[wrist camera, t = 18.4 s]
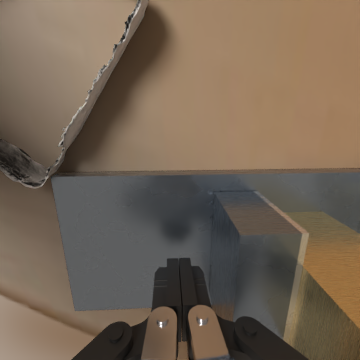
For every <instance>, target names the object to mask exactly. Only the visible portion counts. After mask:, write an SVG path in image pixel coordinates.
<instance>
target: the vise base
mask: <svg viewBox="0 0 360 360" xmlns="http://www.w3.org/2000/svg"><path fill="white" fill-rule="evenodd" d="M51 183H52V188H53V193H54V199H55V204H56V210H57V215H58V221H59V226H60V232H61V237H62V243H63V248H64V254H65V259H66V265H67V270H68V276H69V281H70V287H71V292H72V297H73V303H74V308H75V311H86V310H109V309H132V308H152V299H153V287H154V276H155V272H156V271H157V269H158V267H167V258H178V264H179V258H190V260H191V266H199V267H200V268H201V269H202V271H203V272H204V277H205V281H206V285H207V290H208V294H209V292H210V270H211V249H212V227H213V205H214V192H240V191H258V192H259V193H260V194H262V195H263V196H264V197H265V198H267V199H268V200H269V201H270V202H271V203H273V204H274V205H275V206H276V207H278V208H279V209H280V210H281V211H282V212H324V213H326V214H327V215H329V216H331V217H332V218H334V219H336V220H337V221H339V222H341V223H342V224H344V225H346V226H347V227H349V228H351V229H352V230H354V231H356V232H357V233H359V234H360V168H340V169H267V170H194V171H121V172H60V173H57V174H55V175H53V176H51ZM209 298H210V295H209ZM210 303H211V299H210ZM211 305H212V303H211Z"/></svg>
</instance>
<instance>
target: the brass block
mask: <svg viewBox="0 0 360 360" xmlns="http://www.w3.org/2000/svg"><path fill="white" fill-rule="evenodd" d="M284 213H285V214H286V215H287V216H289V217H290V218H291V219H292V220H293V221H295V222H296V223H297V224H298V225H300V226H301V227H302V228H303V229H305V230H306V231H307V232H308V233H309V237H308V242H307V247H306V252H305V258H304V263H303V268H302V273H301V278H300V284H299V289H298V294H297V299H296V304H295V310H294V315H293V320H292V325H291V330H290V336H289V341H288V344H289V345H291V346H292V347H293V348H294V349H296V350H297V351H298V352H300V353H301V354H302V355H304V356H305V357H306V358H308V359H309V360H360V234H359V233H357V232H356V231H354V230H352V229H351V228H349V227H347V226H346V225H344V224H342V223H341V222H339V221H337V220H336V219H334V218H332V217H331V216H329V215H327V214H326V213H324V212H284Z"/></svg>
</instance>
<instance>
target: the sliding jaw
mask: <svg viewBox="0 0 360 360" xmlns="http://www.w3.org/2000/svg"><path fill="white" fill-rule="evenodd" d="M308 237H309V233H308V232H307V231H306V230H305V229H303V228H302V227H301V226H300V225H298V224H297V223H296V222H295V221H293V220H292V219H291V218H290V217H289V216H287V215H286V214H285V213H284V212H282V211H281V210H280V209H279V208H278V207H276V206H275V205H274V204H273V203H271V202H270V201H269V200H268V199H267V198H265V197H264V196H263V195H262V194H260V193H259V192H258V191H240V192H214V205H213V227H212V249H211V270H210V292H209V295H210V299H211V303H212V308H213V311H214V312H215V313H216V314H217V315H218V316H219V317H221V318H223V319H225V320H229V321H233V322H235V321H236V320H237V319H238V318H239V317H242V316H248V317H252V318H254V319H256V320H257V321H259V322H260V323H261V324H263V325H264V326H265V327H267V328H268V329H269V330H271V331H272V332H273V333H275V334H276V335H277V336H279V337H280V338H281V339H283V340H284V341H285V342H287V343H288V341H289V336H290V330H291V325H292V320H293V315H294V310H295V304H296V299H297V294H298V289H299V284H300V278H301V273H302V268H303V263H304V258H305V252H306V247H307V242H308Z"/></svg>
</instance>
